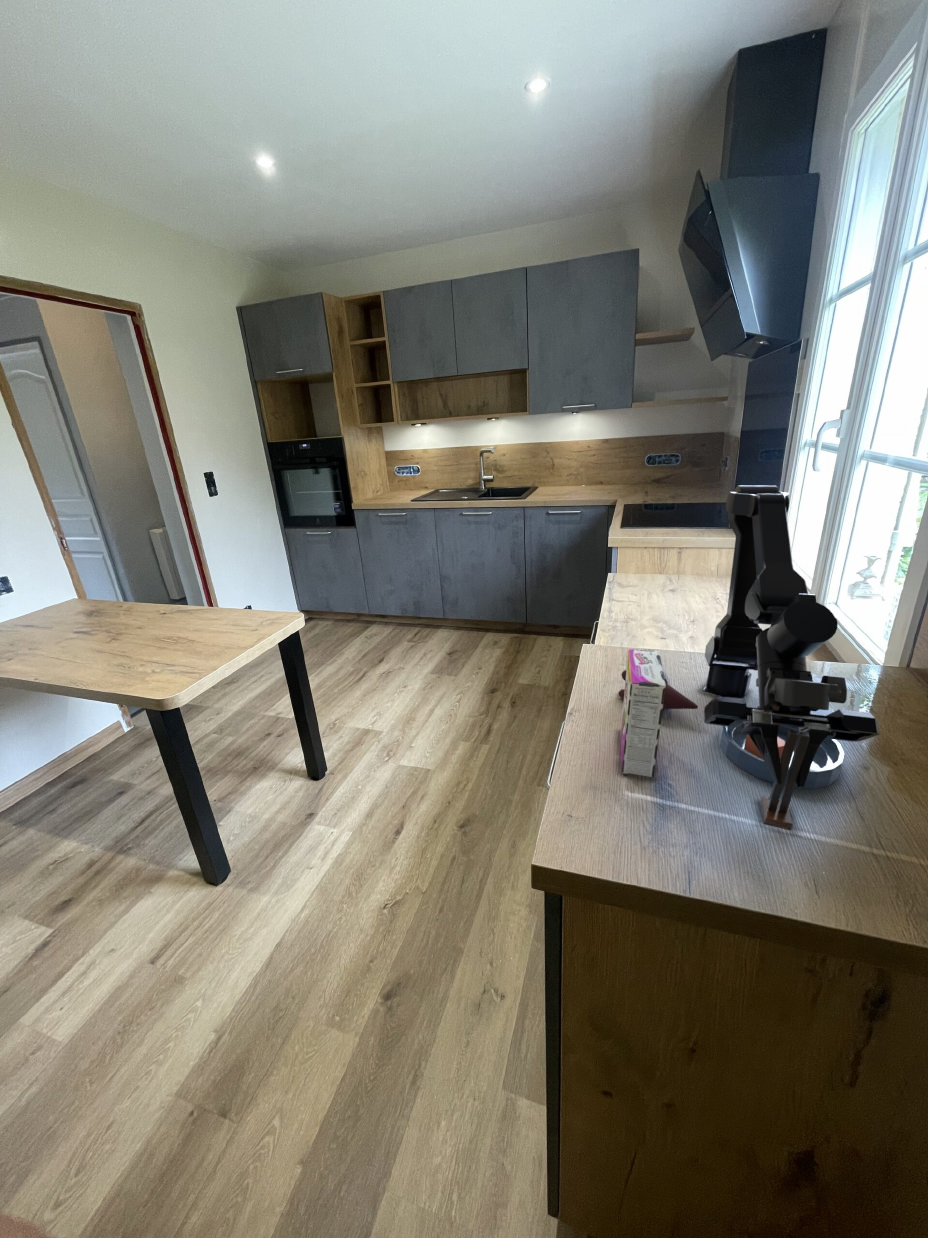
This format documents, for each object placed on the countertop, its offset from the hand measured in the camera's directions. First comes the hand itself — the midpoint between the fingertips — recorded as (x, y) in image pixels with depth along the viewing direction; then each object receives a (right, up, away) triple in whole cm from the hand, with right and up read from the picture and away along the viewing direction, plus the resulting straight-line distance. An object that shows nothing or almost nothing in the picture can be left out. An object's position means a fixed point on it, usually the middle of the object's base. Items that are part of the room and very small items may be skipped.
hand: (789, 785), depth 61 cm
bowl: (+8, -1, +16) cm, 18 cm away
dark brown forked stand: (+1, -6, +4) cm, 7 cm away
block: (+5, -1, +14) cm, 15 cm away
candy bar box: (-14, -1, +17) cm, 22 cm away
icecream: (-6, +4, +29) cm, 30 cm away
